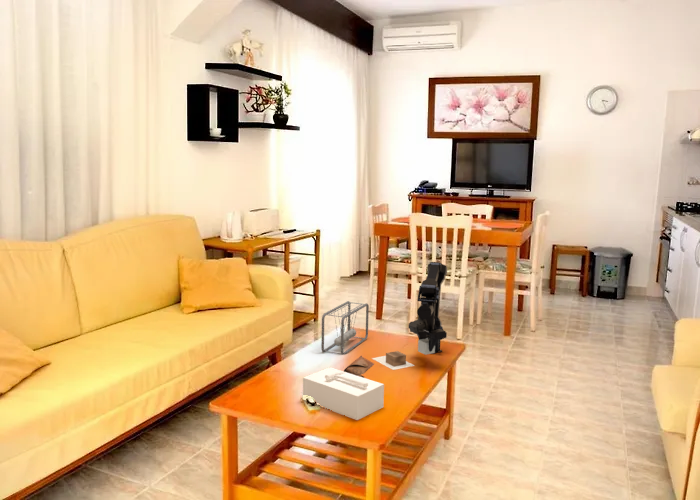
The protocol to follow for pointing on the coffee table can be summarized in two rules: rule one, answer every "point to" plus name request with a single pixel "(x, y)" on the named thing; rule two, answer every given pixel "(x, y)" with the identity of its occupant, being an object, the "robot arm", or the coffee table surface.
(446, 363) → the coffee table surface
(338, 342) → the newton's cradle
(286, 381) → the coffee table surface
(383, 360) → the plate
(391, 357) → the base block
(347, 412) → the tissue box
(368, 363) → the sunglasses case
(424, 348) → the top block
